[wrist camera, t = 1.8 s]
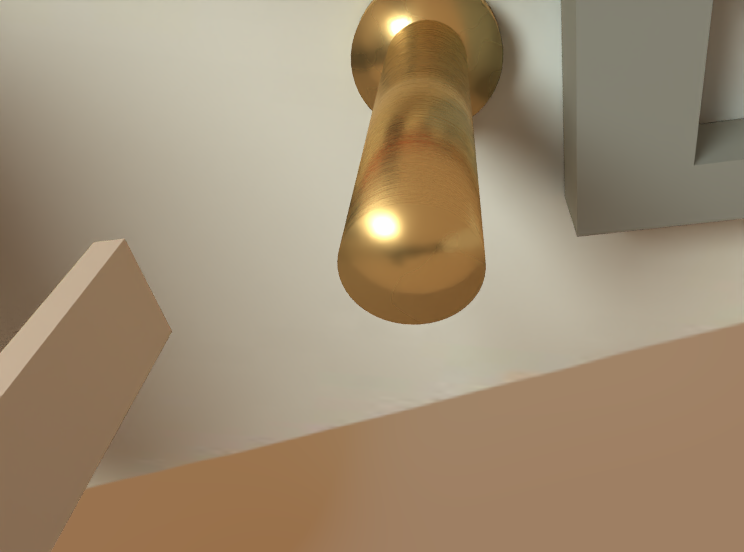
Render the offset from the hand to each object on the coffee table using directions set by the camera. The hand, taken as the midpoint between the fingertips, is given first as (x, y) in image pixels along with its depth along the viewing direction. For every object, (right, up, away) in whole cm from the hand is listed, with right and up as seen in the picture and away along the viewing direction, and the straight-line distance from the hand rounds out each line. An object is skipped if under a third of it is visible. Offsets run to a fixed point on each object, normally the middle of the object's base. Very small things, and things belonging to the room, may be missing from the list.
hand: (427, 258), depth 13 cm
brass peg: (+1, +8, +11) cm, 14 cm away
